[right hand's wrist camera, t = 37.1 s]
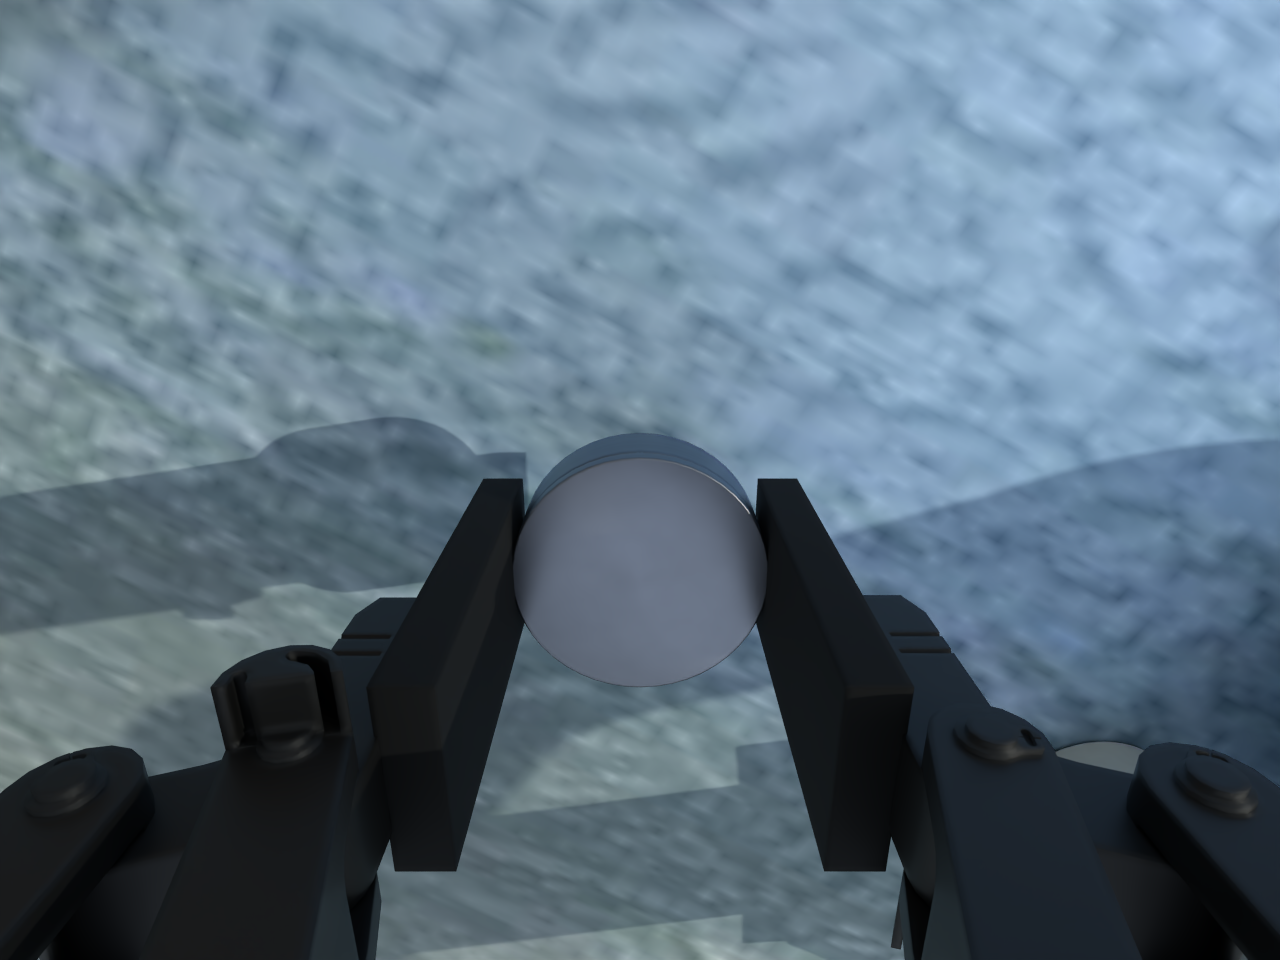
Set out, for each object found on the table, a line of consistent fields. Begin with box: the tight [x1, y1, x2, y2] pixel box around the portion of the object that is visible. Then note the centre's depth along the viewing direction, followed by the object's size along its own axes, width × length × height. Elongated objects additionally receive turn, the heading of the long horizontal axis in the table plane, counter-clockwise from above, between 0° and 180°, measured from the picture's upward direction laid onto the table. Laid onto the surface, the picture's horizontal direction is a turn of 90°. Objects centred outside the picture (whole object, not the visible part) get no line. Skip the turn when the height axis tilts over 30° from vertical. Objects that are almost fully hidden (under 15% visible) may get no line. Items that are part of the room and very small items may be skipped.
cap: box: [513, 433, 768, 687], centre depth 14 cm, size 5×5×2 cm
